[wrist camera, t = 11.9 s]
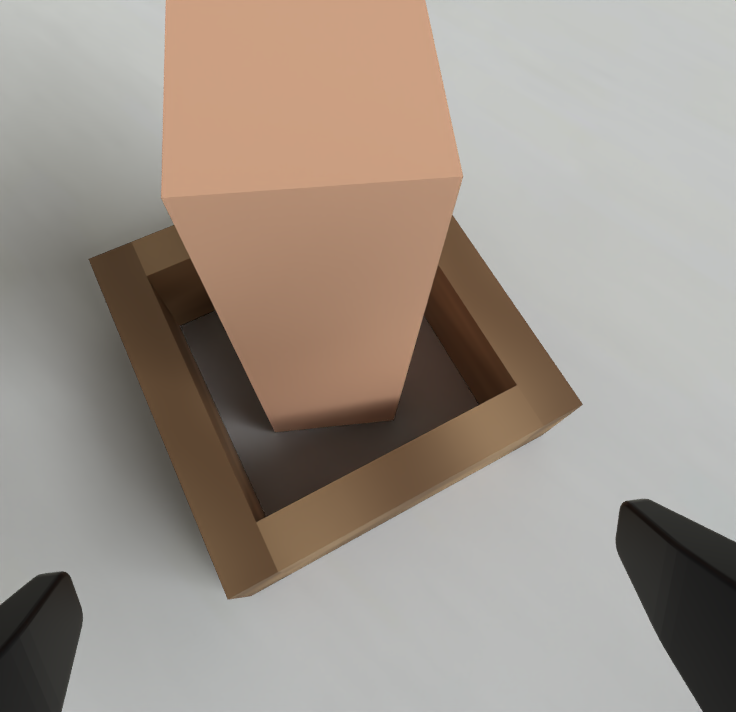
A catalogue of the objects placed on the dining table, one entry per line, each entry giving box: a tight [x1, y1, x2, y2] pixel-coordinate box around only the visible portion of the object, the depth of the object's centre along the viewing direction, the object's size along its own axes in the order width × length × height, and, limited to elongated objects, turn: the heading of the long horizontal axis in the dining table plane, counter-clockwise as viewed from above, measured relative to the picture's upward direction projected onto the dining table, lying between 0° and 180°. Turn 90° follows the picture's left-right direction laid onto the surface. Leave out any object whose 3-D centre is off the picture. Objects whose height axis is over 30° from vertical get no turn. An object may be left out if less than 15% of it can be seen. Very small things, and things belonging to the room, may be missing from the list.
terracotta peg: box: [161, 0, 463, 432], centre depth 16 cm, size 4×4×14 cm
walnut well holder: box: [89, 215, 583, 599], centre depth 20 cm, size 12×12×4 cm
